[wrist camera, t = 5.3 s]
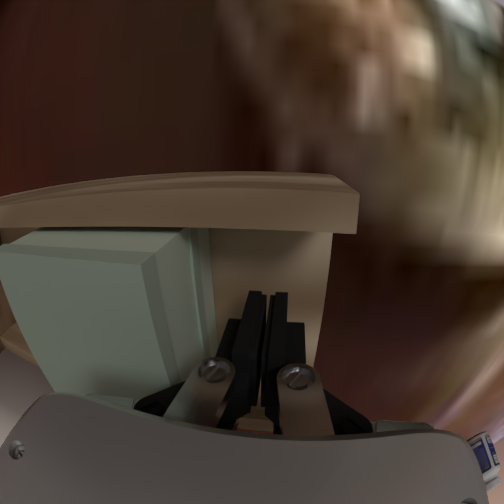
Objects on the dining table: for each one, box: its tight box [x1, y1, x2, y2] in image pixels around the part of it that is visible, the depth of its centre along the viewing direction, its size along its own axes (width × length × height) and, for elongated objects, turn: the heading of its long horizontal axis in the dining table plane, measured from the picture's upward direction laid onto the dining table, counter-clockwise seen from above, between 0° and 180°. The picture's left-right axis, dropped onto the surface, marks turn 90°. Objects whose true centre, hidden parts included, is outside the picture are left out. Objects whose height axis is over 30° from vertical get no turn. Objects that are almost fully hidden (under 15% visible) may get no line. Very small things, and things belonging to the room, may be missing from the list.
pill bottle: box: [467, 432, 501, 492], centre depth 16 cm, size 6×6×10 cm
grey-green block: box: [0, 227, 218, 401], centre depth 11 cm, size 9×8×6 cm
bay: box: [0, 171, 360, 432], centre depth 13 cm, size 12×26×6 cm, turn 90°
